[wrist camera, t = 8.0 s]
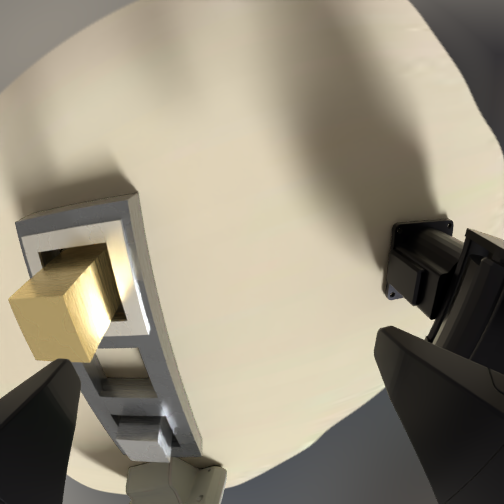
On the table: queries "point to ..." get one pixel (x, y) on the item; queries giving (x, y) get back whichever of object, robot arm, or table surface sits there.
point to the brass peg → (68, 304)
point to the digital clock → (175, 483)
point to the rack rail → (119, 314)
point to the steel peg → (145, 438)
